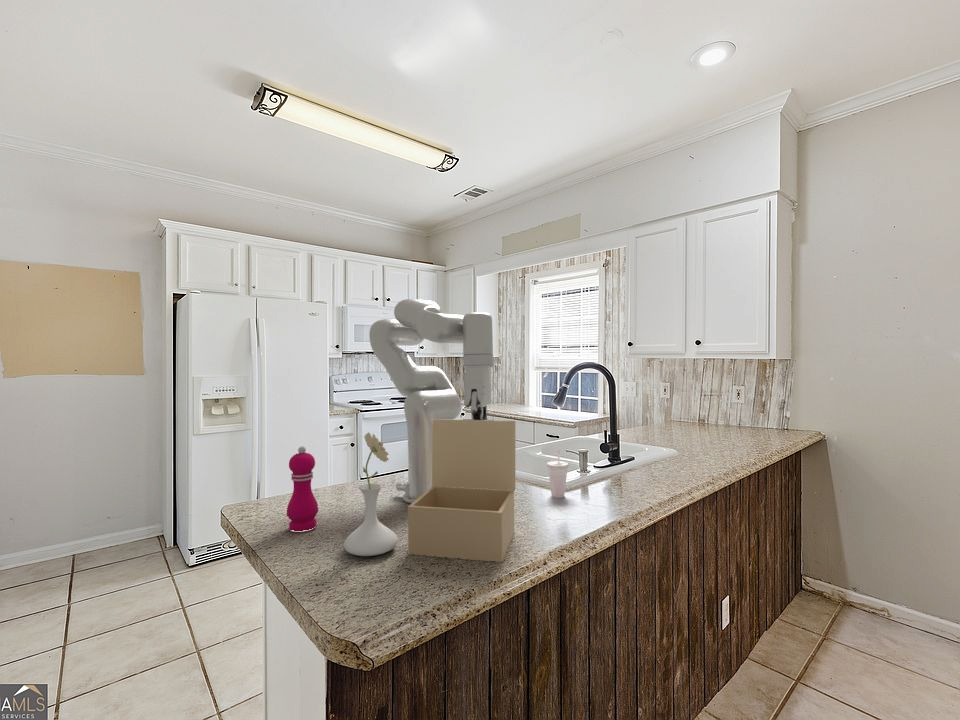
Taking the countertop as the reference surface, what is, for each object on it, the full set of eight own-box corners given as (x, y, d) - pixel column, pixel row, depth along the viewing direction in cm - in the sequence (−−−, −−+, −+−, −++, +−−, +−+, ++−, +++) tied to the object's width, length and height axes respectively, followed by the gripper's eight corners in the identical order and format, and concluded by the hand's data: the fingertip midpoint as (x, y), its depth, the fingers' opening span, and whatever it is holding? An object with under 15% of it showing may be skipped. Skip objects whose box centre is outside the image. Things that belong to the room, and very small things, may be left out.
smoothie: (573, 495, 139) (572, 448, 139) (561, 500, 135) (560, 451, 135) (555, 491, 144) (554, 445, 144) (542, 496, 139) (542, 449, 139)
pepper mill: (288, 536, 110) (287, 450, 110) (285, 526, 116) (284, 445, 116) (320, 530, 113) (319, 447, 113) (316, 521, 119) (315, 442, 119)
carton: (408, 554, 99) (407, 506, 99) (433, 527, 114) (432, 486, 114) (502, 562, 94) (501, 512, 94) (514, 533, 110) (514, 490, 110)
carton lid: (432, 419, 115) (441, 417, 122) (431, 486, 114) (440, 480, 121) (514, 420, 111) (519, 419, 118) (514, 490, 110) (519, 484, 116)
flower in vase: (401, 557, 97) (400, 436, 97) (343, 565, 94) (342, 440, 94) (394, 535, 110) (393, 428, 110) (343, 540, 106) (342, 430, 106)
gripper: (471, 362, 127) (473, 430, 127) (455, 362, 112) (456, 439, 111) (498, 361, 126) (500, 430, 125) (485, 361, 110) (487, 440, 110)
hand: (479, 434), depth 118 cm, fingers closed on carton lid, 2 cm apart
